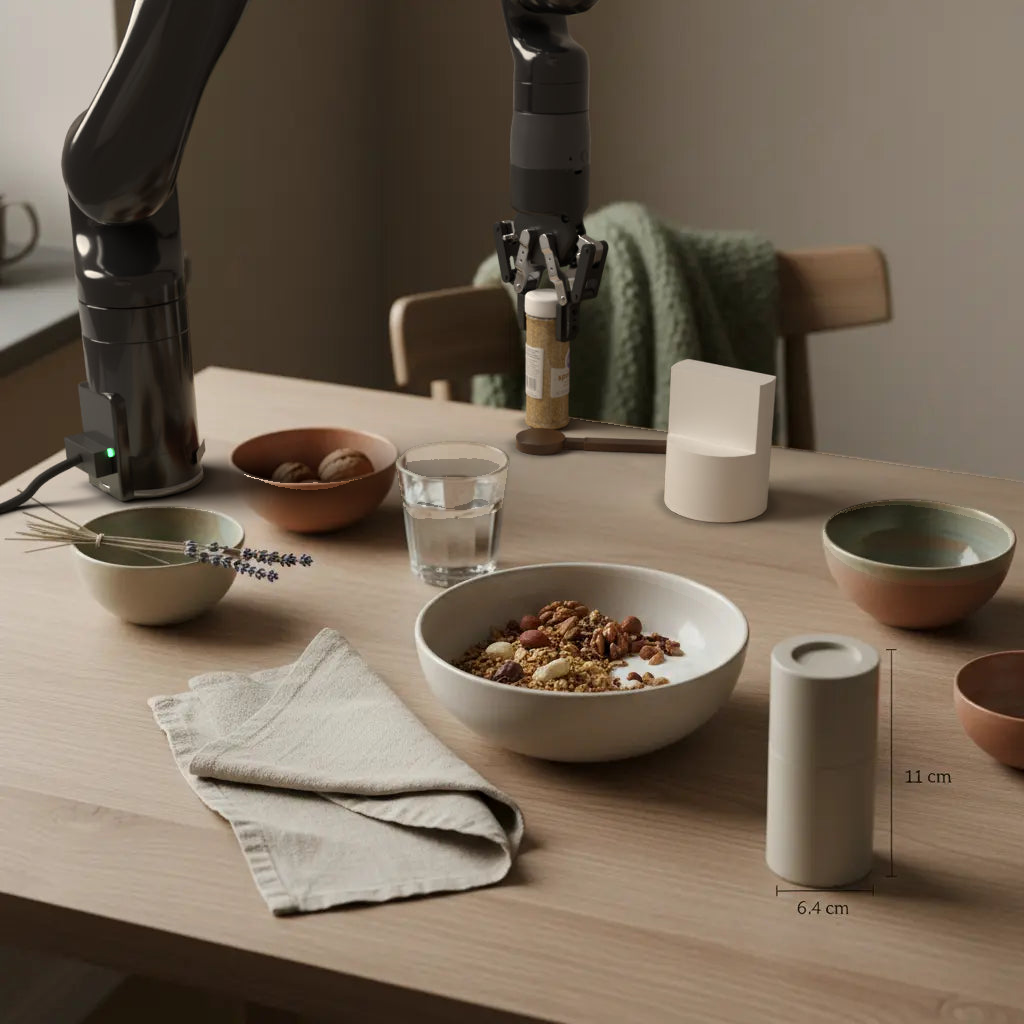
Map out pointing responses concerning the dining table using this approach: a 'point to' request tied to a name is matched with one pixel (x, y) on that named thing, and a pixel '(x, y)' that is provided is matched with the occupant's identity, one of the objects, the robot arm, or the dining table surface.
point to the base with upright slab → (718, 442)
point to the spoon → (581, 443)
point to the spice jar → (545, 363)
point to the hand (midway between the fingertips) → (547, 333)
